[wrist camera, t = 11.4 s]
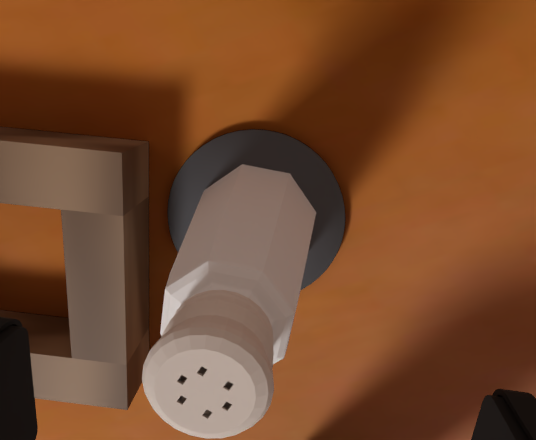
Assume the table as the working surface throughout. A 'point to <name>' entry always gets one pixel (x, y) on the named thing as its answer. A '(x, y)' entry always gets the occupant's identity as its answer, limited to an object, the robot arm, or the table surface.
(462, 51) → the table surface
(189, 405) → the pepper shaker
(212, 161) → the coaster
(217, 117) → the table surface
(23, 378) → the robot arm
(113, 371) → the board
